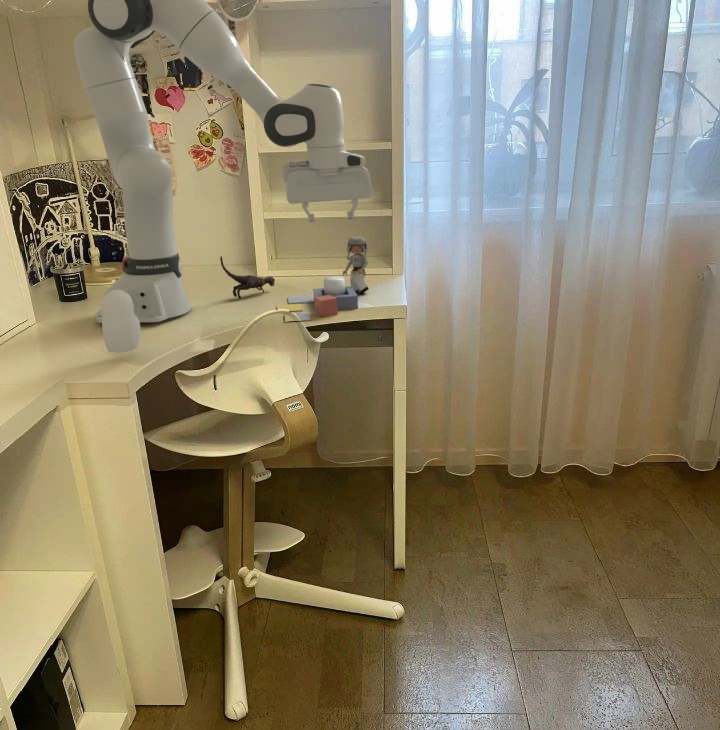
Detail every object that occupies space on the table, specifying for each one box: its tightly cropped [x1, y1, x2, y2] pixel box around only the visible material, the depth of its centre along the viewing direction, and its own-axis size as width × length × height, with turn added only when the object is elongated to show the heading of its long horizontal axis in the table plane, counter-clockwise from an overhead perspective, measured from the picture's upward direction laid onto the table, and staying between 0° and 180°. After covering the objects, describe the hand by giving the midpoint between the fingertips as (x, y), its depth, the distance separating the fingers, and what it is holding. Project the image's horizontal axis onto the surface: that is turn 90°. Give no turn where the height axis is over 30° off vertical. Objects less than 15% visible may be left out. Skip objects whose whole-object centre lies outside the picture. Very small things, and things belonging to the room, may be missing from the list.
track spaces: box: [287, 295, 314, 322], centre depth 164 cm, size 15×26×1 cm, turn 8°
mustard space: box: [276, 303, 303, 313], centre depth 162 cm, size 6×6×1 cm
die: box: [313, 295, 339, 318], centre depth 156 cm, size 4×4×4 cm
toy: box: [342, 236, 369, 295], centre depth 172 cm, size 7×6×15 cm
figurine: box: [101, 290, 141, 354], centre depth 136 cm, size 7×8×12 cm
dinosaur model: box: [219, 255, 276, 300], centre depth 172 cm, size 4×12×15 cm, turn 132°
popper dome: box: [323, 275, 346, 296], centre depth 163 cm, size 5×5×4 cm
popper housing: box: [313, 285, 359, 310], centre depth 164 cm, size 10×10×3 cm
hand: (331, 220), depth 158 cm, fingers open, 8 cm apart
